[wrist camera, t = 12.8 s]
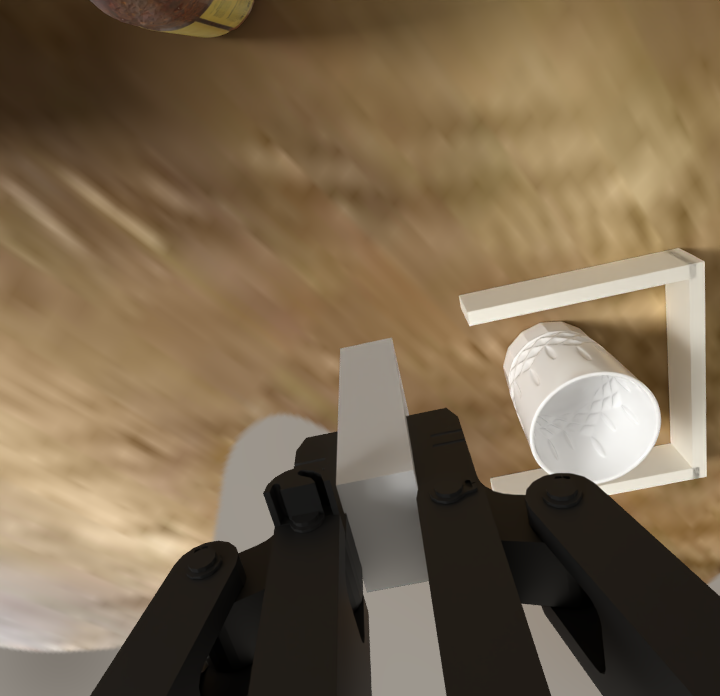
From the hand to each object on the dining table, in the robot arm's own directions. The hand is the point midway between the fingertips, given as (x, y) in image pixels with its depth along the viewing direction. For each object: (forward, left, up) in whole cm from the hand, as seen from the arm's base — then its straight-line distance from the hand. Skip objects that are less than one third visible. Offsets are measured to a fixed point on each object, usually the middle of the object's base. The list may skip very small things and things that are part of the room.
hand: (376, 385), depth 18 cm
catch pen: (+13, -16, -26) cm, 34 cm away
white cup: (+11, -14, -27) cm, 32 cm away
